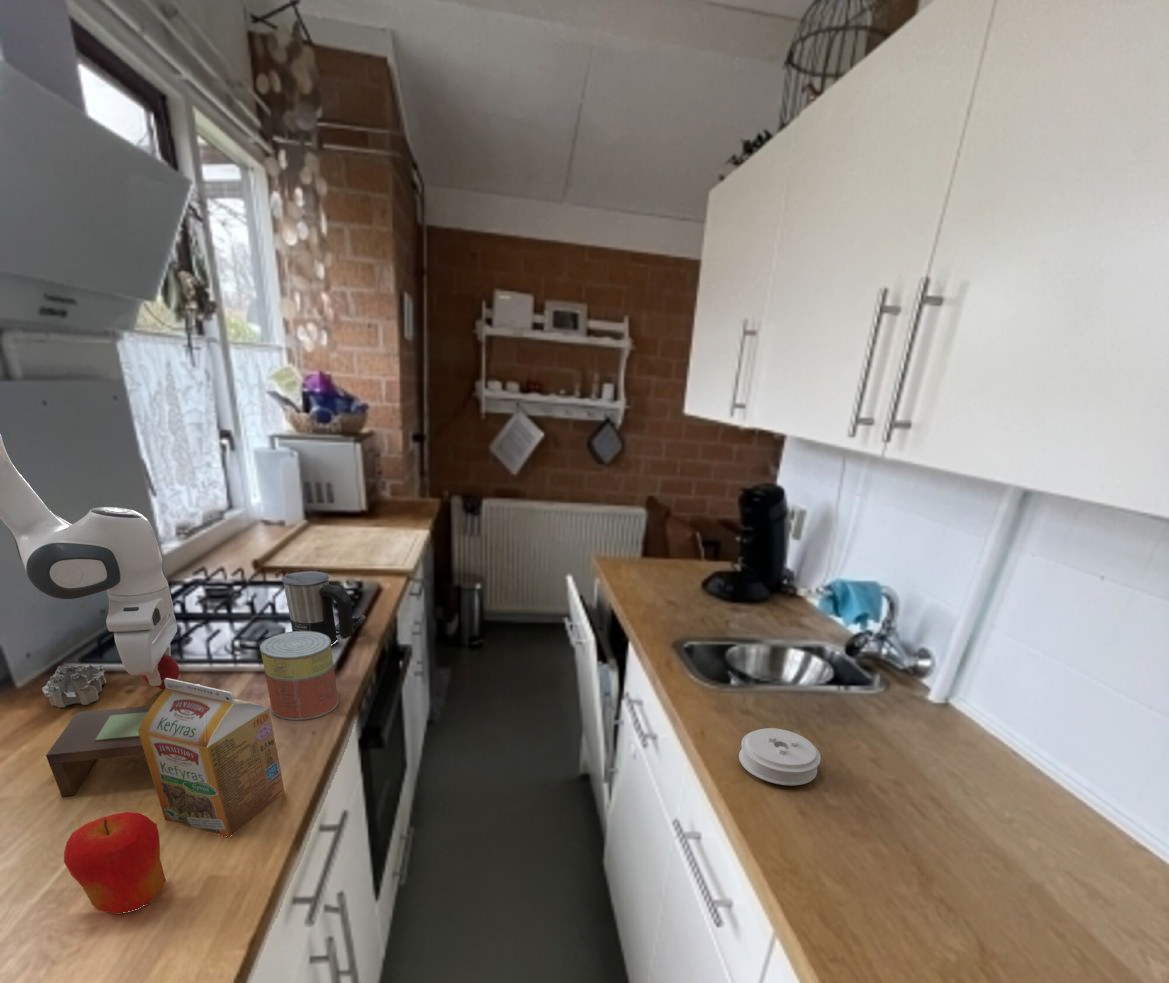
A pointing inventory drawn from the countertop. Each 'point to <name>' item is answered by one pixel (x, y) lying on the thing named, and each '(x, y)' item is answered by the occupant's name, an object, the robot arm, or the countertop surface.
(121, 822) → the apple
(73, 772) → the shelf
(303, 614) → the milk frother
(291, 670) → the canned food
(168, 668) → the onion
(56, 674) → the egg carton
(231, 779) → the milk carton
